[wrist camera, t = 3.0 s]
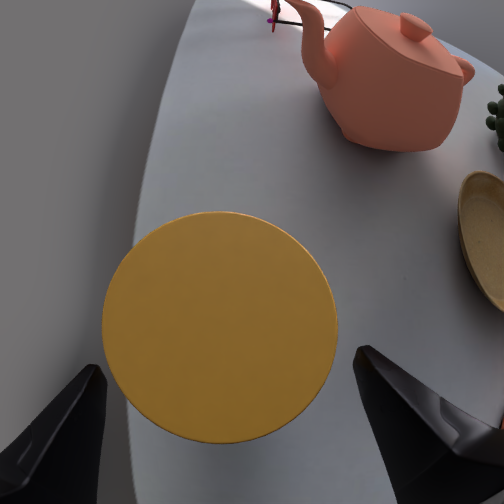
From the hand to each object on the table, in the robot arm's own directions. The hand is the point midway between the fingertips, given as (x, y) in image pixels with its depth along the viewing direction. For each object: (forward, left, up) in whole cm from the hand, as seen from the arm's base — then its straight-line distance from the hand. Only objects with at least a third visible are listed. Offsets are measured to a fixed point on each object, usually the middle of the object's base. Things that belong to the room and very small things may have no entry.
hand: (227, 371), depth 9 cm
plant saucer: (+14, -23, -9) cm, 28 cm away
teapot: (+24, -7, -9) cm, 27 cm away
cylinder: (+1, 0, -9) cm, 9 cm away
